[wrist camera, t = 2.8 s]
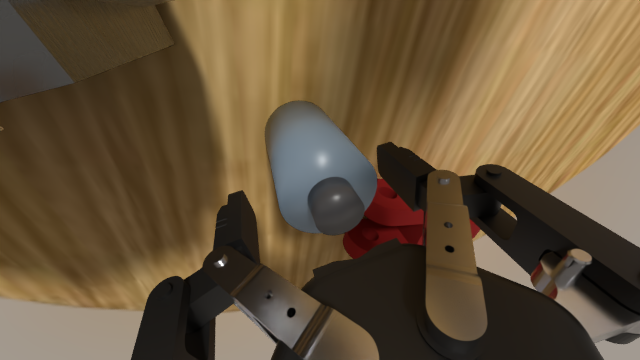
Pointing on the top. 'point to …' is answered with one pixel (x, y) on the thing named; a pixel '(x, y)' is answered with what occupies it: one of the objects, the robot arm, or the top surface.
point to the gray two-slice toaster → (72, 40)
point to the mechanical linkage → (387, 223)
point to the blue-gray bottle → (317, 170)
